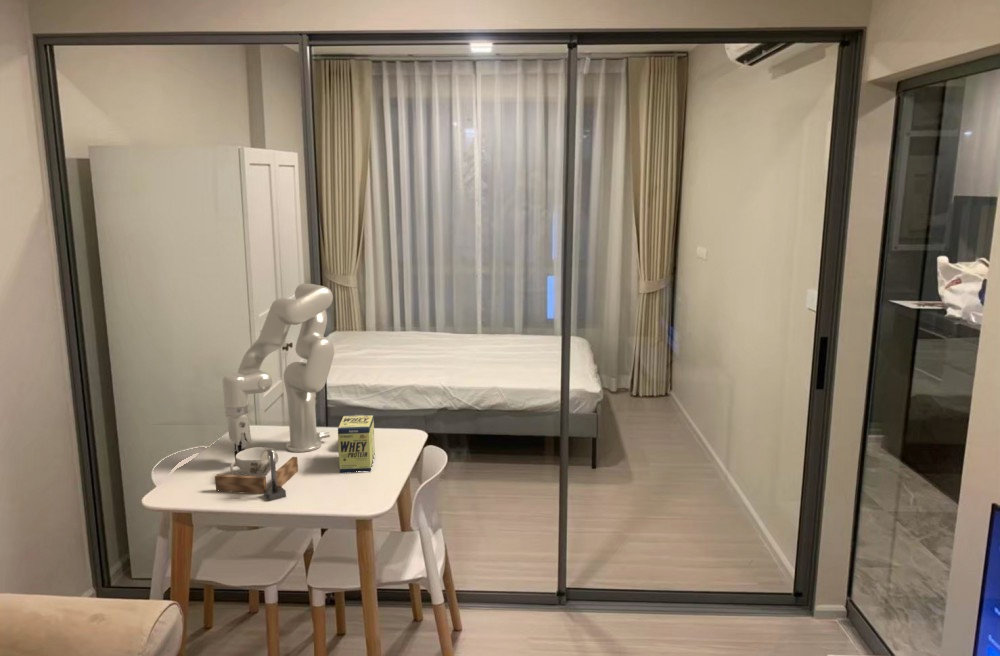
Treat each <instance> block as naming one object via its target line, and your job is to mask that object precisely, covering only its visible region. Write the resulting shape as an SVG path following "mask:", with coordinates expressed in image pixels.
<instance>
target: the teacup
mask: <svg viewBox="0 0 1000 656" xmlns="http://www.w3.org/2000/svg"><path fill="white" fill-rule="evenodd" d="M267 450H272V451H274V452H276V453H277V450H276V449H275V448H272V447H268V446H267V447H264V446H263V447H262V446H257V447H256V446H255V447H250V448H246V449H245V450H243V451H241V452H239V453H237V455H236V462H235V461H232V462H231V463H230V466H229V469H230V471H231V473H233V475H243V476H262V477H267V475H268V474H269V473H270V472H271V468H267V467H264V466H263V465H262V464H261V462H260V458H261V455H262V454H263V453H264V452H265V451H267ZM234 466H237V467H238V469H239V470H240V471H235V470H234Z"/></svg>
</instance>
